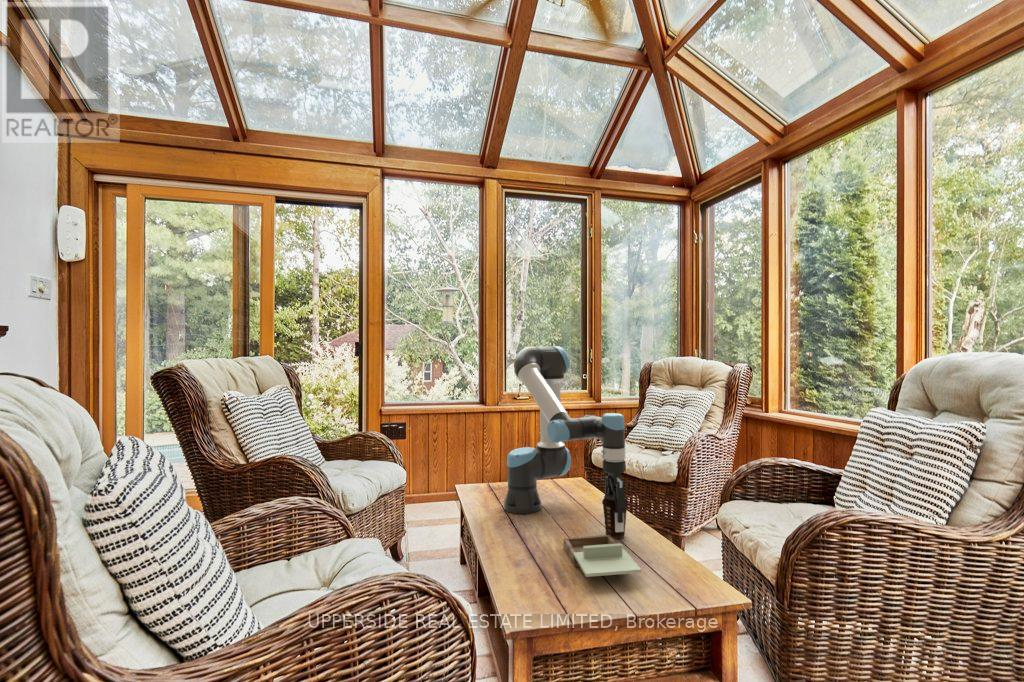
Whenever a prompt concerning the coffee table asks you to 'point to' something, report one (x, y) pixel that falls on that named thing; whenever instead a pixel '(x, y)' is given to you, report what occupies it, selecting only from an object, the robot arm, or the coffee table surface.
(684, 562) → the coffee table surface
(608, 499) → the coffee cup
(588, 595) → the coffee table surface
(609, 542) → the box
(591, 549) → the lid
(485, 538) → the coffee table surface
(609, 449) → the robot arm
